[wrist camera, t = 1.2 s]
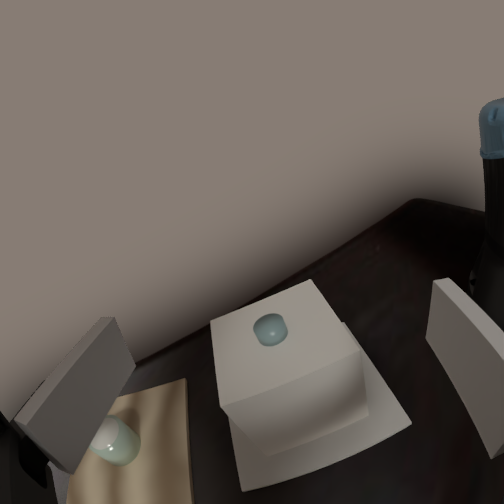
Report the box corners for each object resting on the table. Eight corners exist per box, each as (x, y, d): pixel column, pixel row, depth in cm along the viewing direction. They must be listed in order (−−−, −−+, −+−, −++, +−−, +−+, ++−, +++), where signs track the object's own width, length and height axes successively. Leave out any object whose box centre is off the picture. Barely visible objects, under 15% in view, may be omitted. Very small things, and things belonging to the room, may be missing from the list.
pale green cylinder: (142, 426, 29) (124, 410, 27) (139, 464, 24) (119, 450, 22) (108, 432, 29) (90, 417, 27) (103, 467, 24) (83, 454, 22)
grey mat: (344, 324, 34) (343, 321, 34) (411, 424, 20) (411, 422, 19) (222, 374, 34) (221, 372, 34) (243, 492, 19) (241, 491, 19)
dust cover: (330, 348, 31) (307, 268, 26) (368, 415, 22) (358, 338, 17) (248, 382, 31) (204, 311, 26) (266, 456, 22) (212, 397, 17)
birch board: (187, 380, 35) (184, 378, 34) (195, 509, 18) (192, 508, 18) (87, 407, 35) (85, 404, 34) (69, 508, 18) (66, 506, 18)
